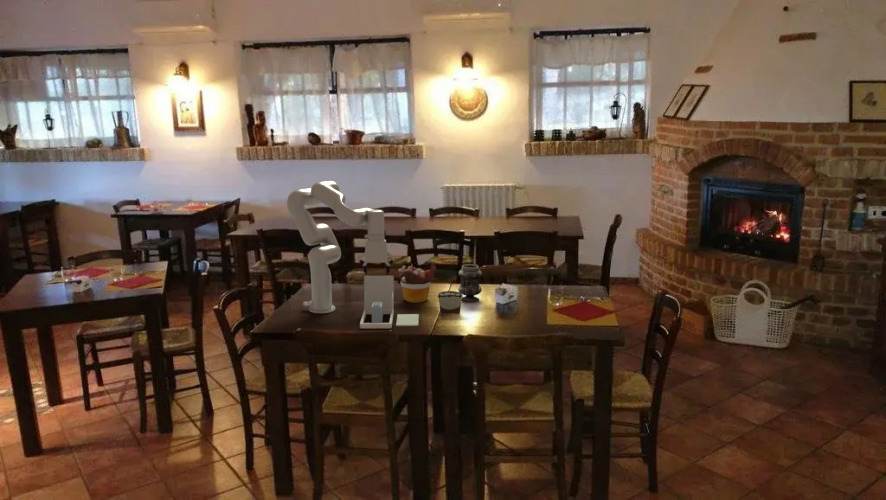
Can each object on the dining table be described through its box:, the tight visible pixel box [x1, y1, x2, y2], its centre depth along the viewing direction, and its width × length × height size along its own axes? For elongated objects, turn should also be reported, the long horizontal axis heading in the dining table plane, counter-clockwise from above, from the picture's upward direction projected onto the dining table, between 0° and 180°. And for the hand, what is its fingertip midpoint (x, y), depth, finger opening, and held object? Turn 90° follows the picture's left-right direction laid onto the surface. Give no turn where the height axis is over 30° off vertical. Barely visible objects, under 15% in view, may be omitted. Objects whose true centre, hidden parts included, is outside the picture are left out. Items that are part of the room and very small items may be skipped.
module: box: [371, 301, 384, 323], centre depth 315 cm, size 4×9×8 cm, turn 1°
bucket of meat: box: [397, 262, 437, 304], centre depth 347 cm, size 20×16×20 cm
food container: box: [437, 290, 464, 315], centre depth 328 cm, size 12×6×10 cm, turn 92°
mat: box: [395, 313, 420, 327], centre depth 316 cm, size 10×16×1 cm, turn 1°
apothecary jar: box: [457, 264, 483, 304], centre depth 348 cm, size 12×12×18 cm
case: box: [359, 275, 395, 329], centre depth 316 cm, size 14×26×18 cm, turn 1°
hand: (376, 274), depth 311 cm, fingers open, 9 cm apart
